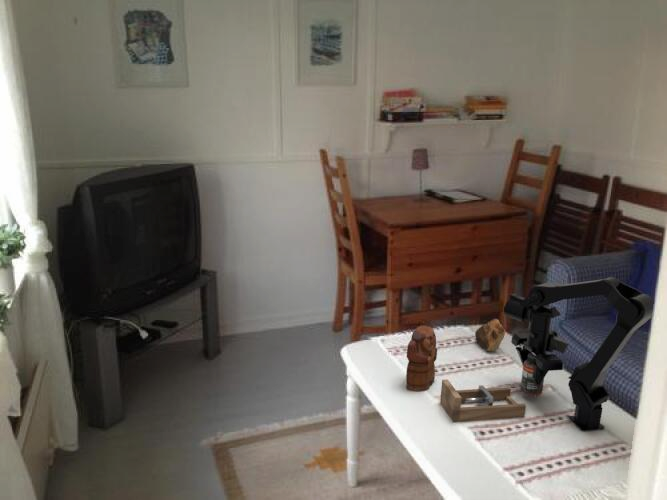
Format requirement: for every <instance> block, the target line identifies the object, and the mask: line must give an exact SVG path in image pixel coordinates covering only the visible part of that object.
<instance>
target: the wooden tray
mask: <svg viewBox="0 0 667 500" xmlns="http://www.w3.org/2000/svg"><path fill="white" fill-rule="evenodd" d="M486 390H487V391H488V392H489V393H490V394H491V395H492V397H493V403H494V402H495V403H496V402H506V404H494V405H491V406H480V405H479V406H478V405H477V406H476V405H475V406H465V407H464V406H463V407H462V404H463V405H464V404H478V402H465V398H478V388H476V389H475V388H473V389H460V390H459V389H458V390H457V389H456V388H455V387H454V386H453V384H452V383H451V381H450V379H441V389H440V400H439V403H440V405H441V406H442V408H443V409H444V411H445V412H446V414H447V415H448V416H449V419H450V420H451V421H452V423H461V422H476V421H493V420H505V419H507V420H508V419H521V418H522V419H523V418H525V417H526V409H527V405H526V404H525V403H522V402H521V403H517V402H516V400H514V399H513V397H512V396H511V391H512V389H511V387H509V386H507V387H491V388H486Z"/></svg>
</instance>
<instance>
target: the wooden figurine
mask: <svg viewBox="0 0 667 500" xmlns="http://www.w3.org/2000/svg"><path fill="white" fill-rule="evenodd" d="M410 337H411V339H410V340H409V342H408V345H407V348H406V358H407V360H408V363H407V366H406V367H407V368H406V373H405V374H406V377H405V380H406V389H407V390H409V391H416V392H423V391H427V390H429V389H430V387H431V386H432V385H433V384H434V382H433V381H434V380H435V378H436V377H435V375H436V368H435V367H436V365H435V362H436V360H437V357H438V356H437V355H438V348H437V347H436V346H437V336H436V332H435V330H434V329H433V328H432V327H431V326H428V325H420V326H417V327H416V328H415V329H414V331H412V334H411V336H410Z"/></svg>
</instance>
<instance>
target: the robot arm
mask: <svg viewBox="0 0 667 500" xmlns="http://www.w3.org/2000/svg"><path fill="white" fill-rule="evenodd" d="M597 296H603V297H605V299H606V301H608V302H609V304H610V305H611V306H612V307H613V309H615V310H616V311H617V314H616V320H615V324H614V326H613V327H612V329H611V330H610V332H609V333H608V335H607V336H606V338H605V339H604V340H603V342H602V344H601V345H600V346H599V347H598V349H597V351H596V352H595V353H594V355H593V356H592V358H591V359H590V361H585V362H584V363H582V364H579V365H577V366H576V367H575V368H574V370H573V372H572V374H571V375H570V376H569V377H568V380H569V381H568V386H567V387H568V388H569V390H570V393H571V398H572V402H573V403H572V404H573V405H575V408H574V409H575V410H574V415H569V417H568V418H569V420H570V421H571V422H572V423H573V424H574V425H575V426H576V427H578V429H579V430H581V431H583V432H586V431H587V432H588V431H602V430H603V431H604V430H605V426H604V425H603V424H602V423H601V421H602V420H601V419H602V414H603V408H604V407H602V406H603V404H605V403H606V402H608V400H609V399H610V397H611V396H610V394H609V392H608V391H607V389H606V388H605V386H604V382H605V381H606V375H607V374H606V373H607V370H608V369H609V367H610V366H611V365H612V363H613V362H614V361H615V360H616V358H617V356H618V355H619V354H620V352H621V350H622V349H623V348H624V346H625V345H626V344H627V342H629V340H630V338H631V337H632V335H633V334H634V332H636V331H637V330H638V329H639V328H640V327H641V326H642V325H644V324H646V323H647V322H648V321H649V320H650V319H651V318H652V317H653V316H652V310H653V304H654V300H655V299H654V298H653V297H652V296H651V295H649V294H647V293H643V292H642V291H640V290H639V289H637V288H635V287H632V286H630V285H628V284H626V283H624V282H622V281H621V280H619V279H618V278H616V277H614V276H610V277H607V278H603V279H596V280H595V279H594V280H589V281H587V280H586V281H582V282H581V281H580V282H572V283H561V282H553V281H551V282H545V283H541V284H537V285H535V286H532V287H531V288H530V290H529V294H528V295H527V296H526V297H523V296H520V295H519V294H516V293H512V294H510V295H509V299H508V300H507V301H506V303H505V305H504V306H503V314H504V316H506V317H507V318H508V317H509V318H511V319H514V320H517V321H519V322H522V323H526V322H529V323H528V327H525V330H524V332H523V333H514V334H513V335H512V337H511V343H512V345H514V347H515V350H516V351H517V354H518V356H519V357H518V358H519V360H520V362H521V365H522V366H523V363H524V361H525V360H527V359H528V354H529V353H533V354H534V355H537V356H538V357H537V358H536V363H532V364H533V370H534V375H535V381H536V384H537V385H540V384H541V382H542V381H543V379H544V380H545V378H546V375H547V374H548V373H549V371H551V372H553V371H563V370H564V365H565V362H564V361H563V360H562V359H561V358H560V357H559V356H557V354H554V353H553V352H554V351H556V352H559V353H561V354H563V355H564V354H566V351H567V349H568V347H569V345H570V342H568V341H566V340H565V339H564V338H562V337H560V336H558V332H557V331H556V330H555V329H552V323H553V322H552V321H553V319H555V318H557V317H558V318H559V317H560V316H561V313H560V311H559V310H558V309H557V308H556V306H553V307H547V306H549V305H551V304H554V303H557V302H561V301H565V300H573V299H579V298H580V299H581V298H589V297H597ZM651 316H652V317H651ZM547 352H548V353H552V354H548V353H547Z"/></svg>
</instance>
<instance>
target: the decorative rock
mask: <svg viewBox="0 0 667 500" xmlns="http://www.w3.org/2000/svg"><path fill="white" fill-rule="evenodd" d="M505 334H506V330H505V328H504V326H503V325H502V324H501V323H500V321H499V319H498V318H493V319H491V320H490V321H488V322H487V323H484V324H482V325H480V327H478V328H477V329H476V331H475V335H474V336H475V341H476V342H477V343H478V345H479V346H480V347H481V348H482V349H485V351H487V352H493V351H495V350H498V349H500V345H501V344H502V342H503V340H504V338H505V336H506V335H505Z"/></svg>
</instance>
